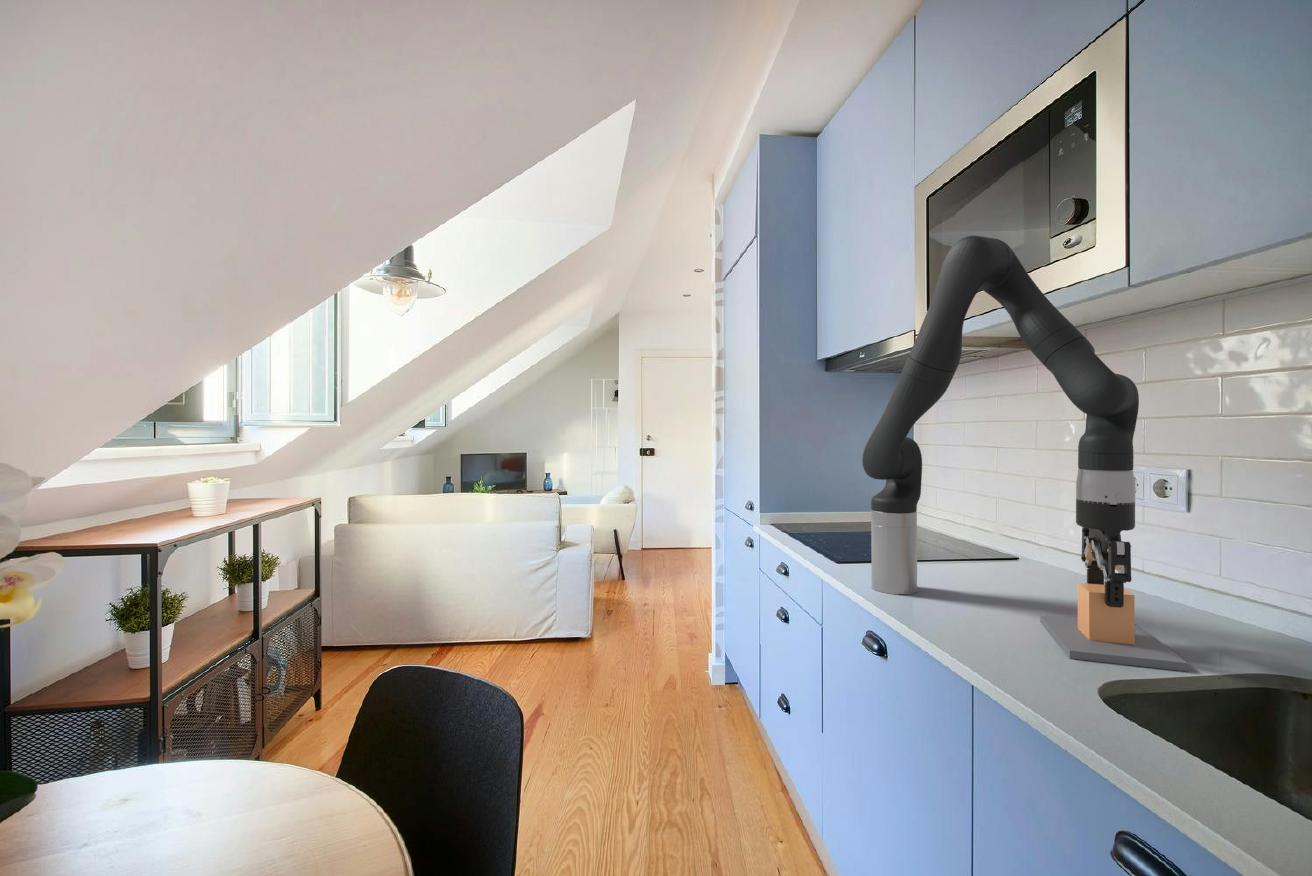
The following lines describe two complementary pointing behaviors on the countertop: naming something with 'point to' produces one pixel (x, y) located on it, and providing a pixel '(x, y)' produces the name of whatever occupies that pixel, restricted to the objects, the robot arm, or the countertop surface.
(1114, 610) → the peach foam cube
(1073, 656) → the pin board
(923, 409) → the robot arm
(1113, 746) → the countertop surface
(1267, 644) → the countertop surface
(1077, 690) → the countertop surface
